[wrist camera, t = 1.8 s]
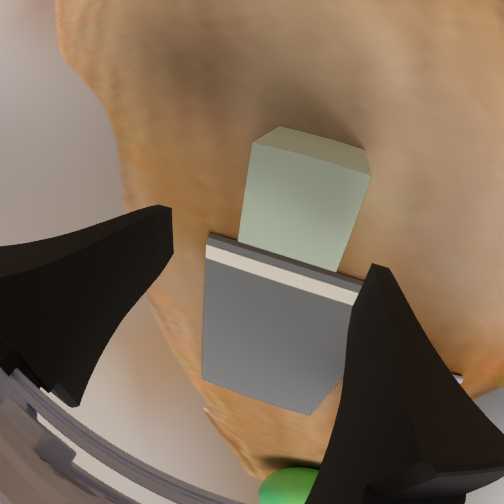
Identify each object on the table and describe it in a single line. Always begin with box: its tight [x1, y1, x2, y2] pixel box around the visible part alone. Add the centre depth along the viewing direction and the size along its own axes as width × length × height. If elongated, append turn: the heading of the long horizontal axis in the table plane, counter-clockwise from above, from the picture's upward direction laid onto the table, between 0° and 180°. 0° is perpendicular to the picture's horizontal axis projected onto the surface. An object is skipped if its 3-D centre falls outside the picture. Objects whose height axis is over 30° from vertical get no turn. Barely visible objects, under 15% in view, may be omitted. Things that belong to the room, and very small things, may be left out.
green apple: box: [258, 467, 319, 504], centre depth 41 cm, size 18×17×15 cm
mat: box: [202, 233, 364, 416], centre depth 25 cm, size 14×21×1 cm, turn 172°
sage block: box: [238, 126, 371, 272], centre depth 14 cm, size 5×5×5 cm
